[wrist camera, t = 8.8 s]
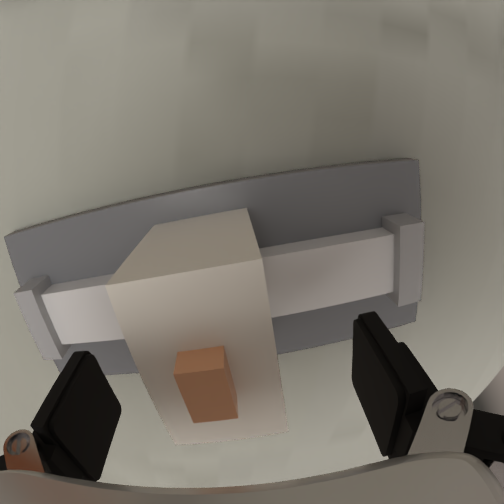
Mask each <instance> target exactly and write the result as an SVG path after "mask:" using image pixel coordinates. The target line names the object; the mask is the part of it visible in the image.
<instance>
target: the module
mask: <svg viewBox="0 0 504 504" xmlns="http://www.w3.org/2000/svg"><path fill="white" fill-rule="evenodd" d="M105 287H106V290H107V293H108V296H109V299H110V301H111V304H112V307H113V310H114V312H115V315H116V318H117V320H118V323H119V326H120V328H121V331H122V333H123V336H124V338H125V341H126V343H127V346H128V348H129V350H130V353H131V355H132V357H133V360H134V362H135V364H136V367H137V369H138V371H139V373H140V376H141V378H142V380H143V382H144V384H145V386H146V389H147V391H148V393H149V395H150V397H151V399H152V401H153V403H154V405H155V407H156V409H157V411H158V413H159V415H160V417H161V419H162V421H163V423H164V425H165V427H166V428H167V430H168V432H169V434H170V436H171V438H172V440H173V441H174V443H175V445H186V444H200V443H212V442H222V441H231V440H239V439H246V438H253V437H260V436H266V435H272V434H278V433H283V432H289V431H288V424H287V417H286V411H285V404H284V397H283V390H282V384H281V377H280V370H279V364H278V357H277V351H276V344H275V338H274V331H273V325H272V318H271V312H270V305H269V299H268V293H267V286H266V280H265V273H264V267H263V261H262V256H261V253H260V250H259V247H258V243H257V240H256V237H255V233H254V230H253V227H252V224H251V220H250V217H249V214H248V211H247V208H242V209H237V210H231V211H225V212H220V213H214V214H209V215H204V216H198V217H193V218H188V219H183V220H178V221H172V222H167V223H162V224H157V225H154V226H153V227H152V228H151V229H150V231H149V232H148V233H147V234H146V235H145V237H144V238H143V239H142V240H141V241H140V243H139V244H138V245H137V246H136V247H135V249H134V250H133V251H132V252H131V254H130V255H129V256H128V257H127V258H126V260H125V261H124V262H123V263H122V265H121V266H120V267H119V268H118V270H117V271H116V272H115V274H114V275H113V276H112V277H111V279H110V280H109V281H108V283H107V284H106V285H105Z"/></svg>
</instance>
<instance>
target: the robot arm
mask: <svg viewBox="0 0 504 504" xmlns="http://www.w3.org/2000/svg"><path fill="white" fill-rule="evenodd" d="M352 382H353V386H354V388H355V391H356V393H357V395H358V398H359V400H360V403H361V405H362V407H363V410H364V412H365V415H366V417H367V419H368V422H369V424H370V427H371V429H372V432H373V434H374V437H375V439H376V442H377V444H378V447H379V449H380V452H381V454H382V456H387V455H388V458H389V459H388V460H384V461H380V462H376V463H372V464H367V465H363V466H359V467H355V468H351V469H347V470H343V471H338V472H333V473H328V474H323V475H318V476H313V477H307V478H301V479H295V480H289V481H282V482H275V483H267V484H257V485H247V486H234V487H216V488H159V487H141V486H129V485H118V484H109V483H102V482H96V481H97V480H99V479H100V477H101V474H102V471H103V468H104V464H105V461H106V458H107V455H108V451H109V448H110V445H111V442H112V439H113V436H114V433H115V430H116V427H117V424H118V421H119V418H120V415H121V405H120V403H119V401H118V399H117V398H116V396H115V394H114V392H113V390H112V388H111V387H110V385H109V383H108V381H107V379H106V377H105V375H104V373H103V371H102V369H101V367H100V365H99V363H98V361H97V359H96V357H95V356H94V355H93V354H91V353H90V352H89V351H75V352H74V353H73V354H72V355H71V357H70V359H69V360H68V362H67V363H66V365H65V367H64V368H63V370H62V372H61V373H60V375H59V376H58V378H57V380H56V381H55V383H54V385H53V386H52V388H51V390H50V392H49V393H48V395H47V397H46V398H45V400H44V402H43V404H42V405H41V407H40V409H39V411H38V412H37V414H36V416H35V418H34V420H33V421H32V423H31V425H30V426H31V427H32V428H33V430H34V431H33V433H31V432H30V431H28V430H18V431H15V432H13V433H12V434H11V435H10V436H9V437H8V438H7V439H6V441H5V443H4V448H3V450H4V455H2V456H0V504H504V416H502V415H498V414H493V413H488V412H484V411H480V410H475V409H473V402H472V400H471V398H470V397H469V396H468V395H467V394H466V393H464V392H463V391H461V390H458V389H451V388H447V389H442V390H439V391H438V390H437V388H436V387H435V385H434V384H433V382H432V381H431V379H430V378H429V377H428V375H427V374H426V372H425V371H424V369H423V368H422V366H421V365H420V364H419V362H418V361H417V359H416V358H415V356H414V355H413V354H412V352H411V351H410V349H409V348H408V347H407V345H406V344H405V343H403V342H399V343H398V342H397V341H396V340H395V338H394V337H393V335H392V334H391V332H390V331H389V330H388V328H387V327H386V325H385V324H384V323H383V321H382V320H381V318H380V317H379V316H378V314H377V313H376V312H375V311H371V312H367V313H362V314H359V315H358V319H355V320H354V321H353V358H352Z"/></svg>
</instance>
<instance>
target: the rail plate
mask: <svg viewBox="0 0 504 504" xmlns="http://www.w3.org/2000/svg"><path fill="white" fill-rule="evenodd" d="M242 208H247V211H248V214H249V217H250V220H251V224H252V227H253V230H254V233H255V237H256V240H257V243H258V247H259V250H260V253H261V256H262V261H263V267H264V273H265V280H266V286H267V293H268V299H269V305H270V312H271V318H272V325H273V331H274V338H275V344H276V351H277V355H278V354H283V353H288V352H293V351H298V350H303V349H308V348H313V347H317V346H322V345H326V344H331V343H335V342H340V341H344V340H348V339H352V338H353V321H354V320H355V319H358V315H359V314H362V313H367V312H371V311H375V312H376V313H377V314H378V316H379V317H380V318H381V320H382V321H383V323H384V324H385V325H386V327H387V328H388V329H390V328H394V327H398V326H401V325H405V324H408V323H411V322H415V321H416V313H417V302H418V301H421V293H422V279H423V262H424V222H423V221H421V196H420V174H419V160H418V159H411V158H403V159H391V160H379V161H369V162H359V163H349V164H340V165H332V166H323V167H315V168H308V169H300V170H293V171H286V172H279V173H272V174H266V175H259V176H253V177H247V178H241V179H235V180H229V181H223V182H218V183H212V184H207V185H202V186H196V187H191V188H186V189H181V190H176V191H171V192H166V193H162V194H157V195H152V196H148V197H143V198H139V199H134V200H130V201H126V202H122V203H117V204H113V205H109V206H105V207H101V208H97V209H93V210H89V211H85V212H81V213H77V214H74V215H70V216H66V217H63V218H59V219H55V220H52V221H48V222H45V223H41V224H38V225H34V226H31V227H28V228H24V229H21V230H18V231H15V232H12V233H10V234H9V235H7V236H5V237H4V239H5V242H6V245H7V249H8V252H9V255H10V258H11V261H12V264H13V267H14V270H15V273H16V276H17V279H18V281H19V284H20V288H19V289H18V290H17V291H15V292H14V296H15V298H16V301H17V303H18V306H19V308H20V310H21V313H22V315H23V317H24V320H25V322H26V324H27V326H28V328H29V331H30V333H31V335H32V337H33V339H34V341H35V343H36V345H37V347H38V349H39V351H40V353H41V355H42V357H43V359H44V360H52V359H53V360H54V362H55V364H56V366H57V368H58V370H59V372H60V373H61V372H62V370H63V368H64V367H65V365H66V363H67V362H68V360H69V359H70V357H71V355H72V354H73V353H74V352H75V351H89V352H90V353H91V354H93V355H94V356H95V357H96V359H97V361H98V363H99V365H100V367H101V369H102V371H103V373H104V375H113V374H129V373H139V371H138V369H137V367H136V364H135V362H134V360H133V357H132V355H131V353H130V350H129V348H128V346H127V343H126V341H125V338H124V336H123V333H122V331H121V328H120V326H119V323H118V320H117V318H116V315H115V312H114V310H113V307H112V304H111V301H110V299H109V296H108V293H107V290H106V287H105V285H106V284H107V283H108V281H109V280H110V279H111V277H112V276H113V275H114V274H115V272H116V271H117V270H118V268H119V267H120V266H121V265H122V263H123V262H124V261H125V260H126V258H127V257H128V256H129V255H130V254H131V252H132V251H133V250H134V249H135V247H136V246H137V245H138V244H139V243H140V241H141V240H142V239H143V238H144V237H145V235H146V234H147V233H148V232H149V231H150V229H151V228H152V227H153V226H154V225H157V224H162V223H167V222H172V221H178V220H183V219H188V218H193V217H198V216H204V215H209V214H214V213H220V212H225V211H231V210H237V209H242Z"/></svg>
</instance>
